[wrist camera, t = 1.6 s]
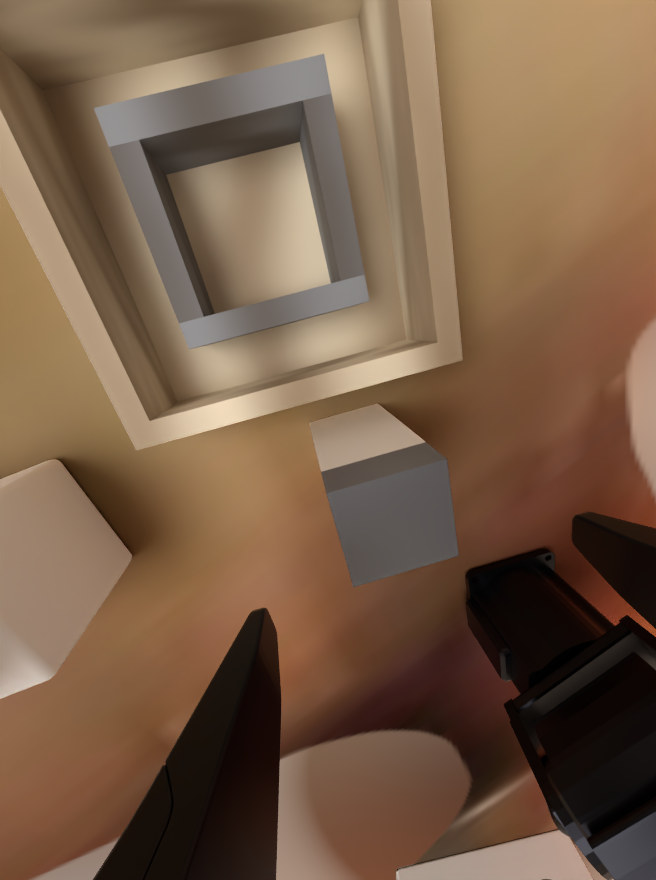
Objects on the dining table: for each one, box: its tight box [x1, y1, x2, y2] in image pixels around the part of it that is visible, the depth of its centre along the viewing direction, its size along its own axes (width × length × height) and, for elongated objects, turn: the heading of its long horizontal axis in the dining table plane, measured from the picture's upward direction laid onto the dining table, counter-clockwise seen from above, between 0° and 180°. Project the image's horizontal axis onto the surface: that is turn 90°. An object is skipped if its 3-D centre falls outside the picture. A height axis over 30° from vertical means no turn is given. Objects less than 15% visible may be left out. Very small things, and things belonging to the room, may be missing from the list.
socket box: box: [0, 0, 463, 450], centre depth 12 cm, size 14×14×4 cm
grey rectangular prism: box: [309, 403, 459, 587], centre depth 14 cm, size 4×4×8 cm
